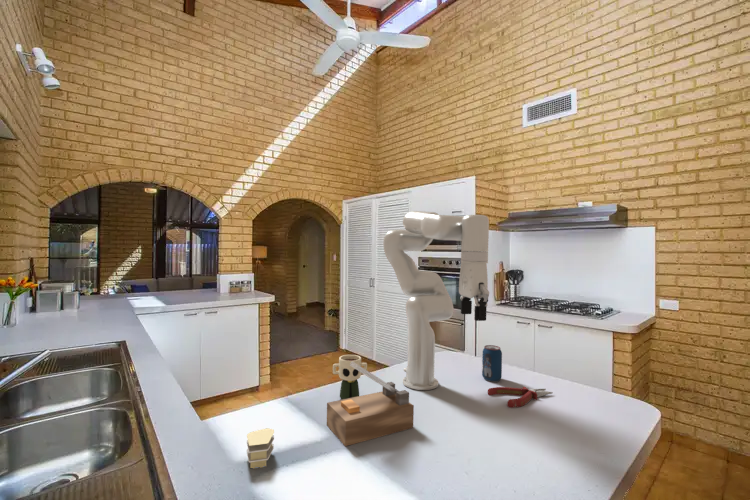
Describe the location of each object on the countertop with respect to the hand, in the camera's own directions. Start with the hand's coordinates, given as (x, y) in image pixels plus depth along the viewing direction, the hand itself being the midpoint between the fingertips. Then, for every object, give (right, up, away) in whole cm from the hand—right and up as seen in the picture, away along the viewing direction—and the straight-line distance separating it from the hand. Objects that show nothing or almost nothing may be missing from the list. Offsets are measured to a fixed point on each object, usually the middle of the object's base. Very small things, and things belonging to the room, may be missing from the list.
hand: (472, 317), depth 105 cm
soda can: (+15, -29, +31) cm, 45 cm away
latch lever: (-28, -16, -7) cm, 33 cm away
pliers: (+20, -30, +13) cm, 38 cm away
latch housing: (-30, -28, -7) cm, 42 cm away
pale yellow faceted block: (-54, -28, -24) cm, 65 cm away
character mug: (-36, -28, +11) cm, 47 cm away
